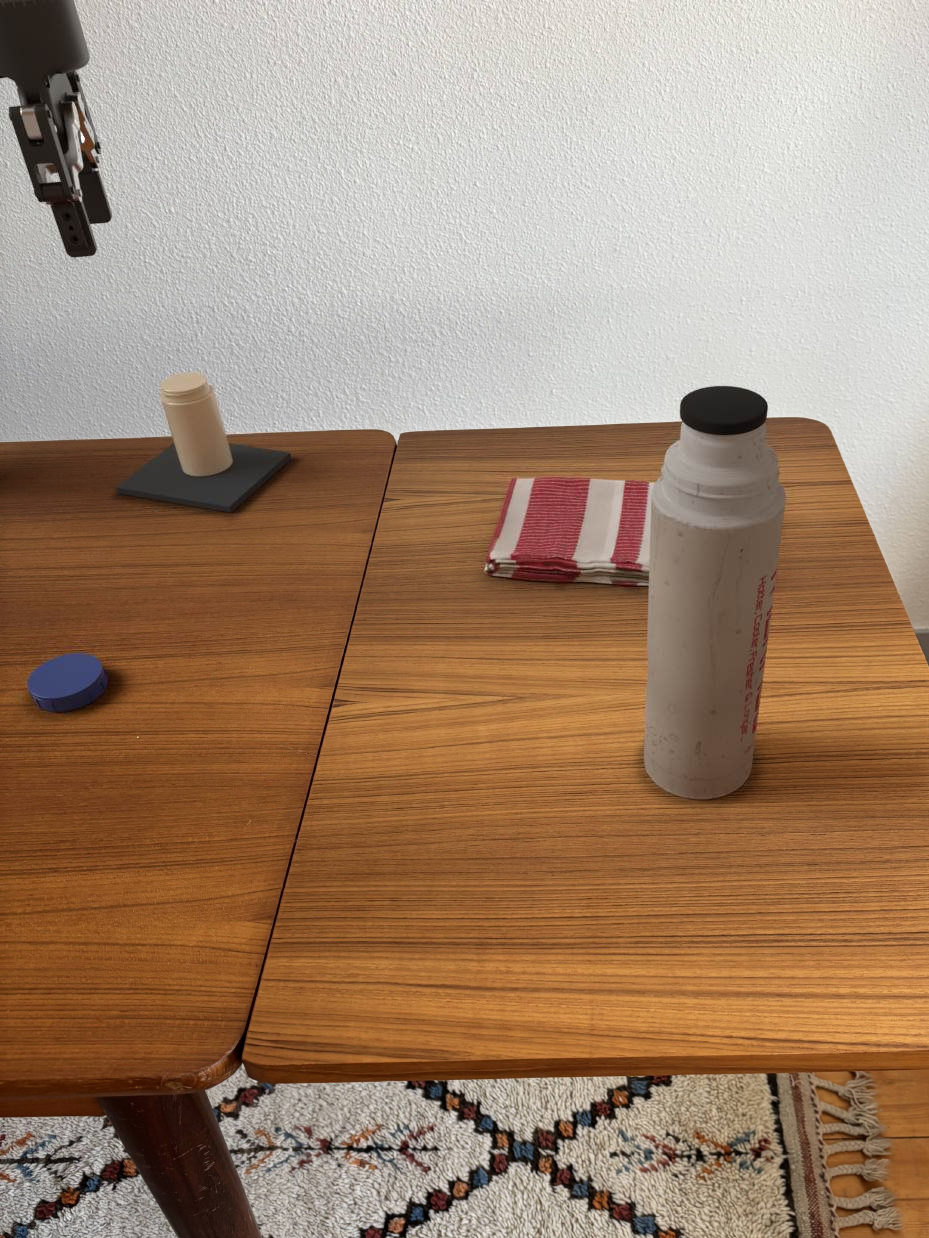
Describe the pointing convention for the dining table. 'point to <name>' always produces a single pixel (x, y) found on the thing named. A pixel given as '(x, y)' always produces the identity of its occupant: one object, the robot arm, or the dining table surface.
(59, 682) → the lid
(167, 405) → the jar
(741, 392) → the thermos bottle
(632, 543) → the dish towel
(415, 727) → the dining table surface
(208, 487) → the mat
